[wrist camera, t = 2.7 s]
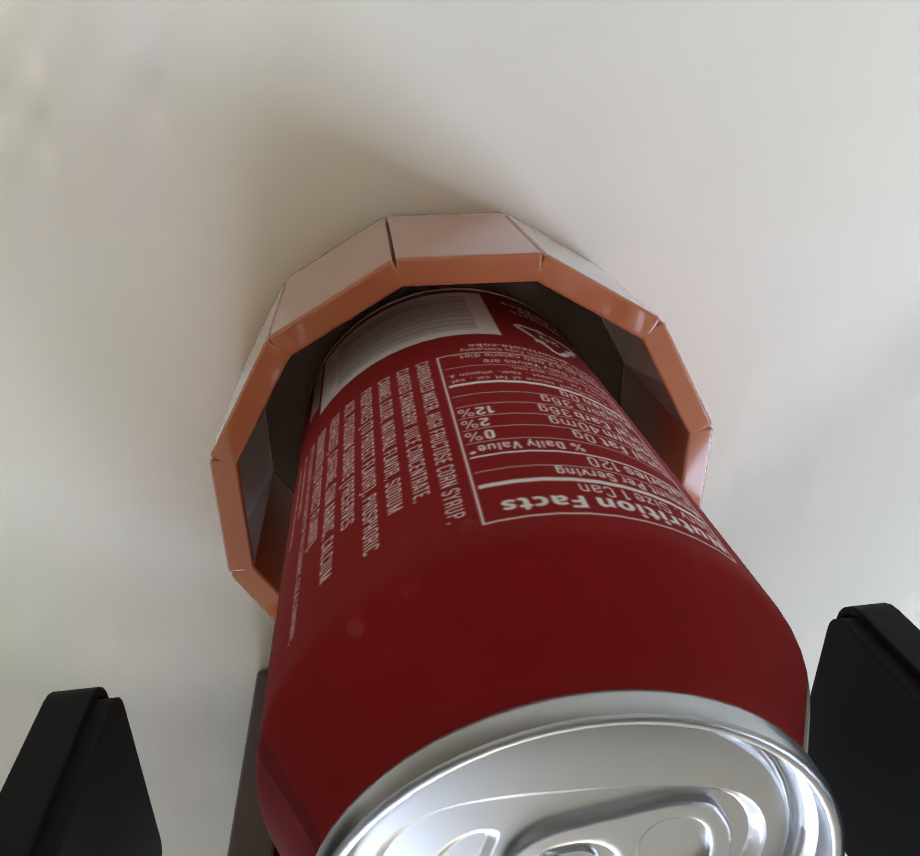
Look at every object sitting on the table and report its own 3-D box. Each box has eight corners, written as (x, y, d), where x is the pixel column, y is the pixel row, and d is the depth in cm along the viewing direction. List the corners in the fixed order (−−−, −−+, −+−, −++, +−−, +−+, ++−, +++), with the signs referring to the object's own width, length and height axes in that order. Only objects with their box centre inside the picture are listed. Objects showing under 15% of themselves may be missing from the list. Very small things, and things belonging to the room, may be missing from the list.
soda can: (273, 311, 16) (120, 762, 6) (569, 252, 17) (951, 579, 6) (344, 556, 20) (329, 1150, 9) (594, 502, 20) (877, 1016, 9)
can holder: (659, 206, 17) (742, 245, 13) (622, 560, 21) (677, 664, 17) (216, 221, 16) (173, 266, 12) (270, 590, 20) (251, 706, 16)
